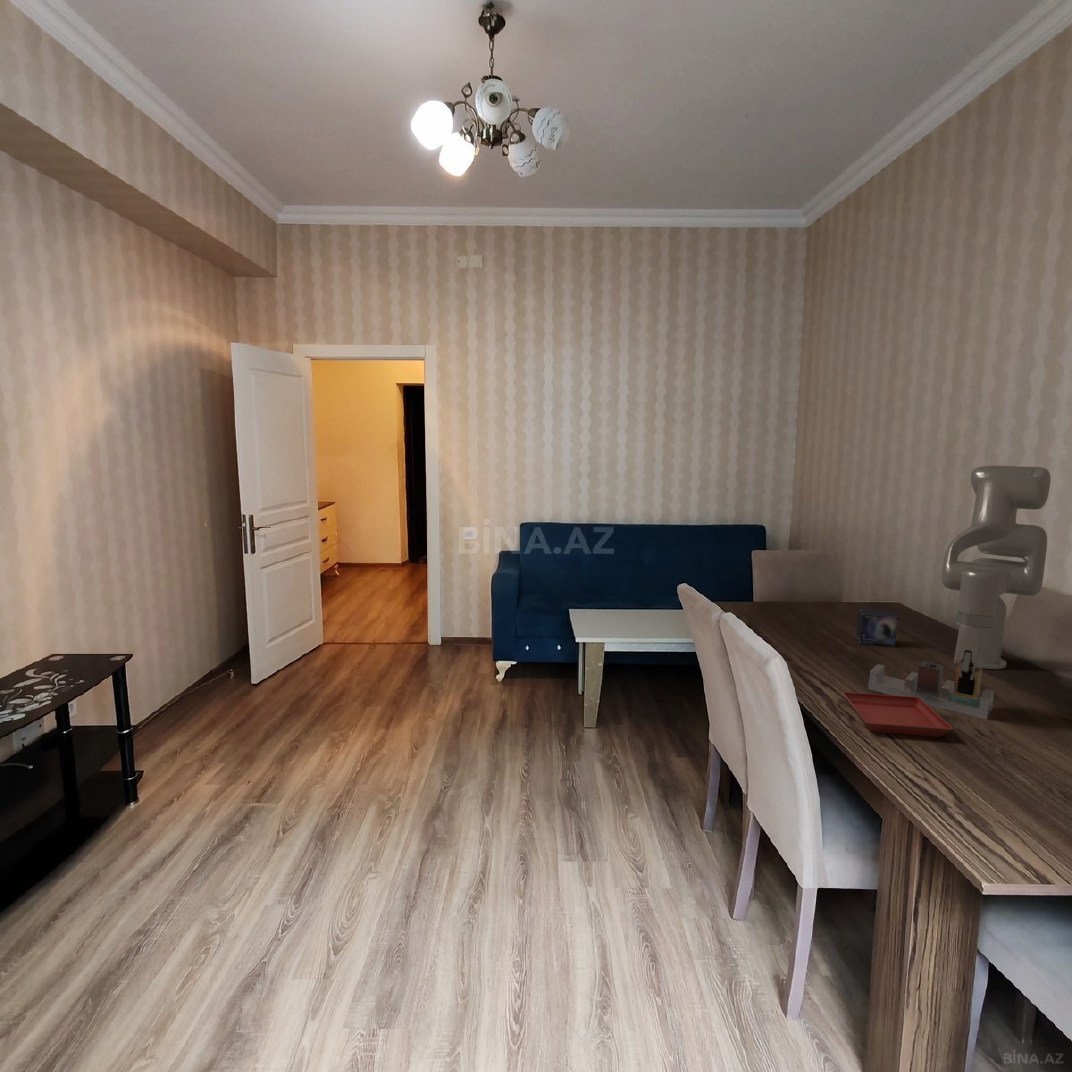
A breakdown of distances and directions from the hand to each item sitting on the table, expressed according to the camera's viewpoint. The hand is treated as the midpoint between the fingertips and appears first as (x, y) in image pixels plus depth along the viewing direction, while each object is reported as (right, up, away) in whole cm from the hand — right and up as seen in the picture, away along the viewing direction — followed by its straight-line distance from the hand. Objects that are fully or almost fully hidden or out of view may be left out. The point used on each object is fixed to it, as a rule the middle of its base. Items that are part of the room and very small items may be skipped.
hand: (967, 689), depth 152 cm
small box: (+5, +3, +50) cm, 50 cm away
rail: (-6, -4, +6) cm, 9 cm away
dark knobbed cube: (-6, -2, +6) cm, 8 cm away
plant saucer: (-22, -6, -6) cm, 24 cm away
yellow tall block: (0, -1, 0) cm, 1 cm away
